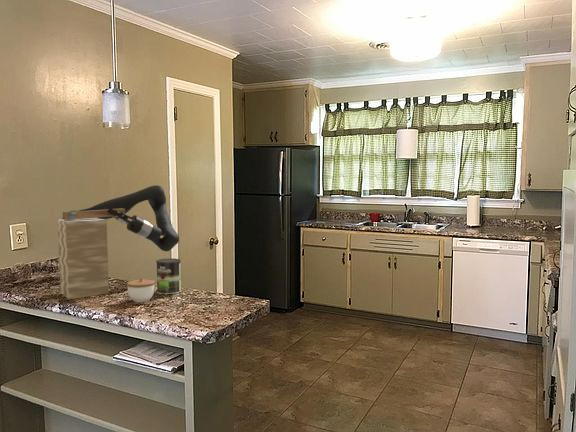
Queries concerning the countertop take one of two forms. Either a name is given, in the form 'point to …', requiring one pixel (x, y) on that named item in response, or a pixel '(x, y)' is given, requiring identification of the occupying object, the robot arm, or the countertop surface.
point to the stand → (83, 257)
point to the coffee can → (168, 276)
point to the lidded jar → (141, 290)
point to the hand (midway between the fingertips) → (106, 209)
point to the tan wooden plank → (89, 214)
